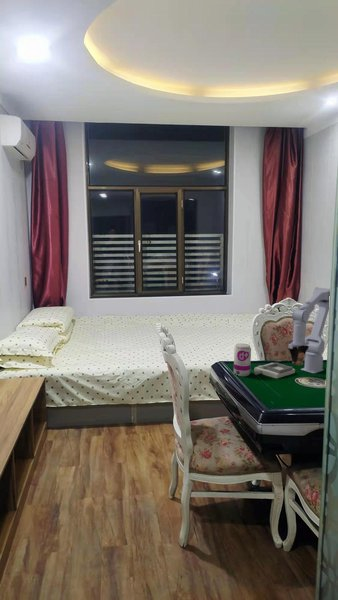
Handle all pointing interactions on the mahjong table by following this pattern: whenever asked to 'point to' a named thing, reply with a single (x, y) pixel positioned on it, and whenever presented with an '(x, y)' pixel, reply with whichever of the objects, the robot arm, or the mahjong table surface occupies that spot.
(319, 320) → the robot arm
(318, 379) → the mahjong table surface
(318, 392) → the mahjong table surface
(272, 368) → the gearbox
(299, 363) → the spout can
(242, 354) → the supplement can
